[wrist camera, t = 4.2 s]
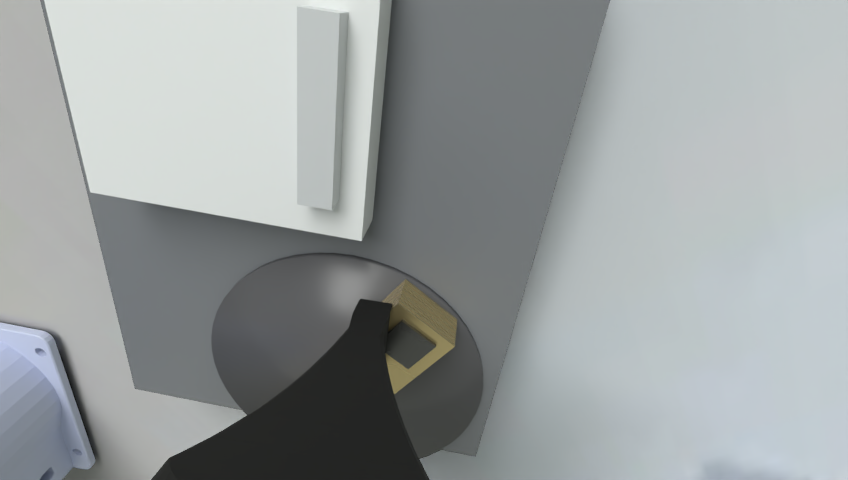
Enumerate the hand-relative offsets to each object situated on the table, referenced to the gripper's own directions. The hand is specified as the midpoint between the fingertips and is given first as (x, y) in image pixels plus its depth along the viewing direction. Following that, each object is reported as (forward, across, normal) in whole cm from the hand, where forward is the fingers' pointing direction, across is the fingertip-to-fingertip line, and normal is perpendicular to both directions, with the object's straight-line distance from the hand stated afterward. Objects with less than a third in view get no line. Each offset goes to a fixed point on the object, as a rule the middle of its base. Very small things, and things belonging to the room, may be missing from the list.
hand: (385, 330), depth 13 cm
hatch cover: (+1, +4, -6) cm, 7 cm away
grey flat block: (+4, +3, -2) cm, 5 cm away
